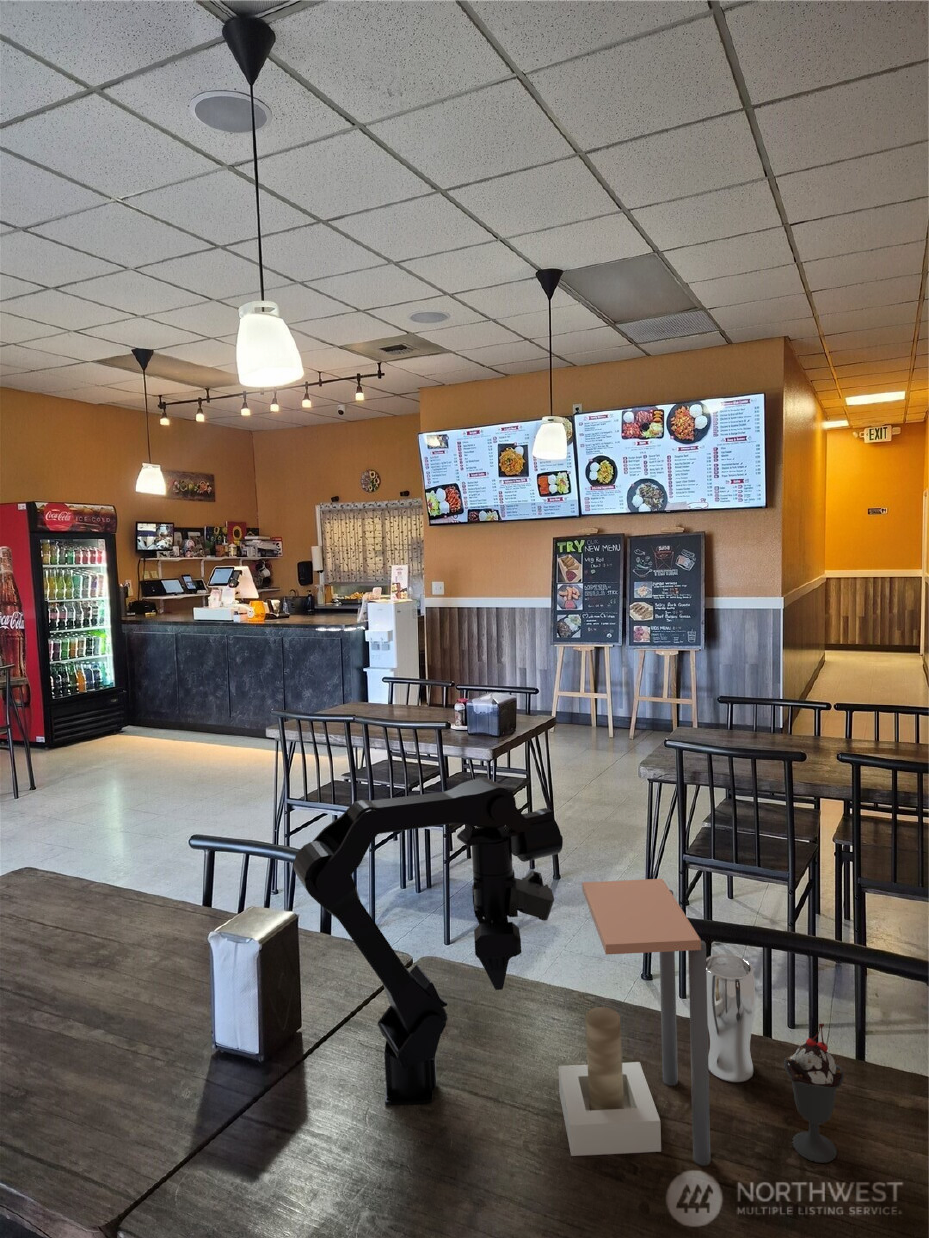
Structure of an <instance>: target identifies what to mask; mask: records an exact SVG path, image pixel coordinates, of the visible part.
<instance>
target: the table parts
mask: <svg viewBox="0 0 929 1238" xmlns="http://www.w3.org/2000/svg"><path fill="white" fill-rule="evenodd" d="M581 883H582V884H581V885H582V886H581V888H582V894H583V896H584V900H585V902H586V905H587V907H588V910H589V912H590V915H591V918H592V922H593V923H594V926H595V929H596V932H597V934H598V936H599V937H598V938H599V940H600V943H601V946H602V948H603V950H604V953H605V955H606V956H607V955H608V956H609V955H623V954H627V955H628V954H641V953H642V954H644V953H659V980H660V986H659V987H660V988H659V989H660V1017H661V1018H660V1019H661V1020H660V1021H661V1023H660V1024H661V1025H660V1026H661V1027H660V1028H661V1059H662V1060H661V1061H662V1066H661V1067H662V1082H663V1083H664V1084H665V1085H667V1086H670V1087H671V1086H676V1085H677V1084H678V1082H679V1081H678V1079H679V1077H678V1075H679V1073H678V1039H677V1038H678V1033H677V998H676V997H677V994H676V993H677V991H676V989H677V988H676V954H675V952H684V951H685V952H687V951H688V987H689V988H688V991H689V998H688V999H689V1031H690V1033H689V1034H690V1035H689V1037H690V1043H689V1044H690V1076H691V1077H690V1080H691V1117H692V1118H691V1119H692V1120H691V1123H692V1124H691V1127H692V1160H693V1162H695V1164H696V1165H698V1166H703V1167H705V1166H708V1165H710V1164H711V1121H710V1120H711V1118H710V1114H711V1113H710V1079H709V1077H710V1076H709V1075H710V1074H709V1073H710V1072H709V1071H710V1070H709V1064H708V1056H709V1029H708V1016H707V968H706V958H707V943H706V942H705V941H704V940H701V937H700V936H699V935H698V933H697V931H696V930H695V928H694V927H693V925H692V923H691V922H690V920H689V919H688V917H687V916H686V914H685V912H684V910H683V909H682V908H681V906H680V904H679V903H678V901H677V900H676V898H675V896H674V891H673V890H672V889H669V887H668V885H667V883H666V882H665V881H664V879H663V878H649V879H629V880H627V879H626V880H608V881H588V882H587V881H586V882H585V881H582V882H581ZM622 1072H623V1095H624V1109H612V1110H591V1111H590V1108H589V1087H588V1066H587V1064H573V1065H558V1085H559V1086H558V1088H559V1089H558V1091H559V1098H560V1104H561V1108H562V1109H561V1110H562V1114H563V1119H564V1126H565V1131H566V1135H567V1139H568V1140H567V1141H568V1147H569V1150H570V1151H569V1152H570V1156H572V1157H577V1156H579V1157H580V1156H597V1155H615V1154H616V1155H619V1154H620V1155H621V1154H639V1153H656V1152H659V1153H660V1152H662V1140H661V1139H662V1135H661V1134H662V1133H661V1132H662V1131H661V1130H662V1129H661V1118H660V1115H659V1113H658V1110H657V1108H656V1104H655V1102H654V1099H653V1096H652V1094H651V1091H650V1088H649V1085H648V1083H647V1079H646V1077H645V1074H644V1071H643V1067H642V1065H641V1062H640V1061H634V1062H633V1061H632V1062H622Z"/></svg>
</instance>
